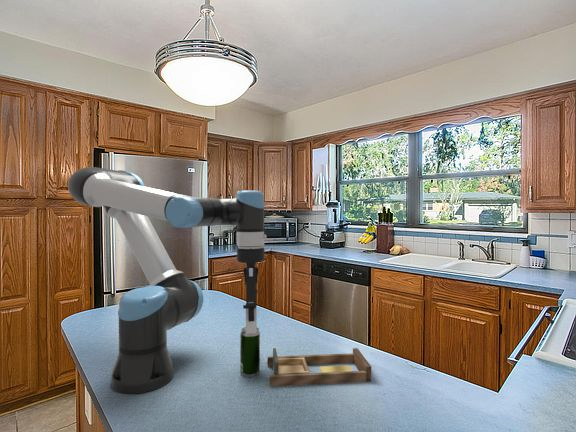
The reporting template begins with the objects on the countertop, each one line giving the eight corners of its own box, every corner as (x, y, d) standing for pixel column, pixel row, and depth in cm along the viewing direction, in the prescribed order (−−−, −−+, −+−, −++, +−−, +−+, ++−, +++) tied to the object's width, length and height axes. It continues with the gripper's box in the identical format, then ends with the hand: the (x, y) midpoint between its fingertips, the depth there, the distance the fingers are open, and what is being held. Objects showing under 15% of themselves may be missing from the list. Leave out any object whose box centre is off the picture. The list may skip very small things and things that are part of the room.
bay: (269, 386, 87) (269, 370, 87) (267, 365, 99) (267, 351, 99) (371, 381, 90) (371, 366, 90) (357, 361, 102) (357, 348, 102)
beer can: (245, 379, 91) (245, 334, 91) (236, 371, 95) (237, 328, 95) (263, 374, 94) (263, 330, 94) (254, 366, 98) (254, 324, 98)
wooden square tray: (275, 382, 89) (275, 362, 89) (272, 366, 98) (273, 348, 98) (309, 380, 90) (309, 360, 90) (304, 365, 99) (304, 347, 99)
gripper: (266, 252, 82) (267, 340, 82) (263, 242, 107) (263, 310, 107) (234, 252, 81) (235, 342, 81) (238, 243, 106) (239, 311, 106)
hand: (251, 324), depth 94 cm, fingers open, 13 cm apart
